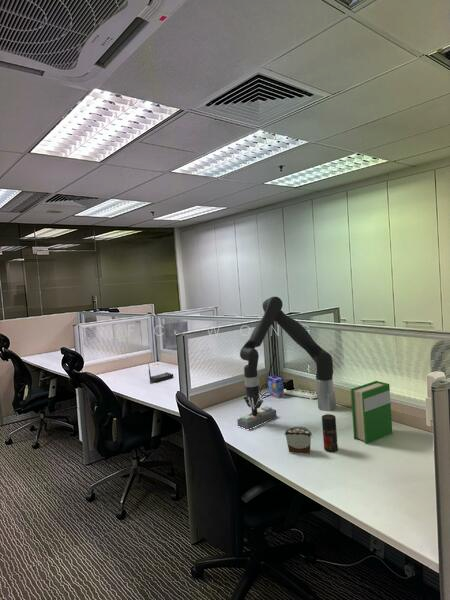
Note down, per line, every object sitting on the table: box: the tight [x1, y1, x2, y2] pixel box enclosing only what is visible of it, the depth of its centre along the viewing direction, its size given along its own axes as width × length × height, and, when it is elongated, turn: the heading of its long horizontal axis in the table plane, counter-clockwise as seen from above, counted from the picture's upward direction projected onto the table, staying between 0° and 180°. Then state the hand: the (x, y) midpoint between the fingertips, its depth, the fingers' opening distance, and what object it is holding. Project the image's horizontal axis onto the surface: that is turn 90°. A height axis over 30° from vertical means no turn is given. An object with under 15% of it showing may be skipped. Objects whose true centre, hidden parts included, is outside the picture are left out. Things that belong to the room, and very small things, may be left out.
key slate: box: [260, 405, 273, 413], centre depth 216 cm, size 4×4×3 cm
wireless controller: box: [147, 363, 174, 385], centre depth 314 cm, size 20×14×17 cm
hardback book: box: [350, 380, 393, 445], centre depth 181 cm, size 18×7×24 cm, turn 119°
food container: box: [283, 426, 313, 455], centre depth 174 cm, size 12×6×10 cm, turn 71°
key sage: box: [240, 414, 252, 422], centre depth 206 cm, size 4×4×3 cm
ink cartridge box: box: [267, 373, 285, 399], centre depth 251 cm, size 10×6×14 cm, turn 29°
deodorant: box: [321, 413, 339, 453], centre depth 172 cm, size 6×6×15 cm
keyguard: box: [236, 408, 278, 430], centre depth 211 cm, size 8×22×4 cm, turn 131°
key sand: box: [257, 408, 265, 416], centre depth 213 cm, size 4×4×3 cm
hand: (254, 415), depth 210 cm, fingers closed
